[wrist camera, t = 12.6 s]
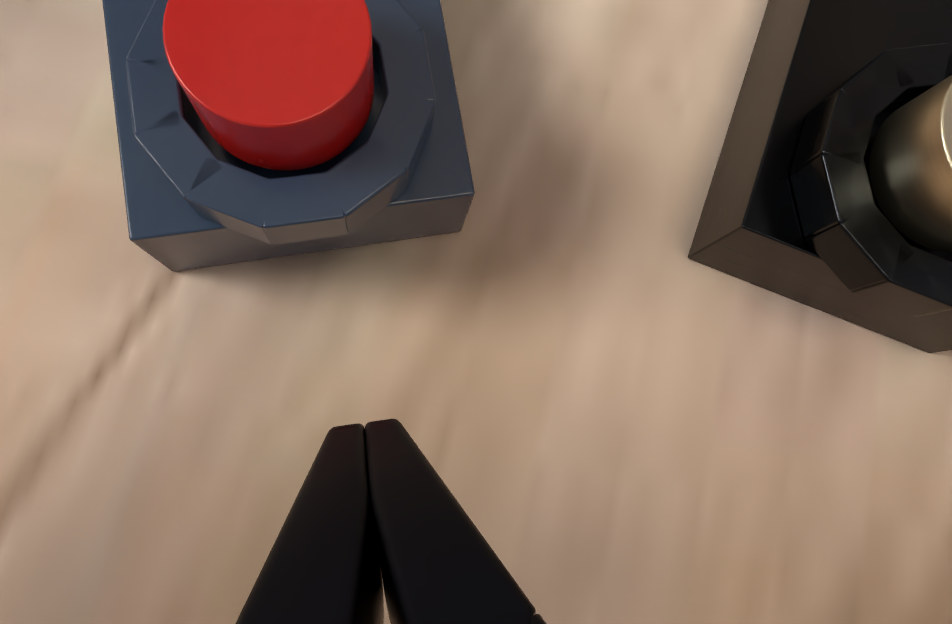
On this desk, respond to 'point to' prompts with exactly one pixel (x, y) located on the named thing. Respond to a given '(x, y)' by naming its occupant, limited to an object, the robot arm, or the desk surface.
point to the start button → (275, 75)
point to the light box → (830, 166)
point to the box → (293, 191)
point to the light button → (917, 168)
